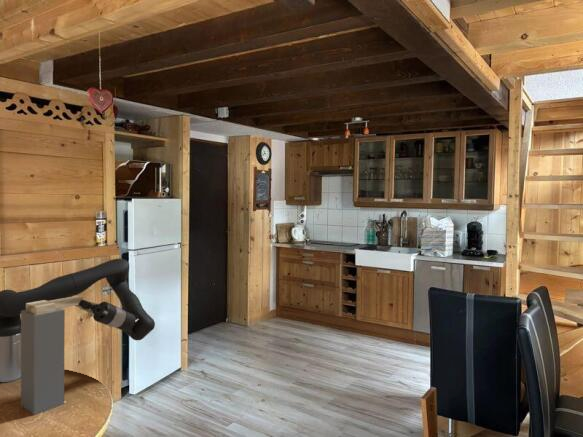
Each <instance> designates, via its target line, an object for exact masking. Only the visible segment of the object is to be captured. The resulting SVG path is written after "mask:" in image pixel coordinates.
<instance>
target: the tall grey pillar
mask: <svg viewBox="0 0 583 437" xmlns="http://www.w3.org/2000/svg"><path fill="white" fill-rule="evenodd" d="M65 315H66V314H65V309H64V308H60V309H55V311H53V312H48V313H43V314H38V315H35V314H33V313H30V312H27V311H26V310H23V311H21V314H20V317H21V378H20V407H21V408H24V409H25V410H26V411H28V412H30V413H31V414H32V415H34V416H35V415H38V414H41V413H43V412H47V411H49V410H51V409H54V408H57V407H59V406H62V405H64V404H65V331H66V330H65V325H66V324H65V323H66V322H65V321H66V319H65V318H66V317H65Z"/></svg>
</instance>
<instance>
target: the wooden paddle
mask: <svg viewBox="0 0 583 437" xmlns="http://www.w3.org/2000/svg"><path fill="white" fill-rule="evenodd" d="M80 300H84V297H83V296H81V295H75V296H72V297H68V298H62V299H56V300H51V301H46V300H42V301H36V302H31V303H26V311H27V312H30V313H33V314H35V315H38V314H43V313H48V312H53V311H55V309H64V308H70V307H76V306H75V305H79V302H80Z"/></svg>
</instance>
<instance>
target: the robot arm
mask: <svg viewBox="0 0 583 437" xmlns="http://www.w3.org/2000/svg"><path fill="white" fill-rule="evenodd" d="M129 272H130V264H129V261H127V260H126V259H124V258H113V259H110V260H108V261H105V262H102V263H99V264H98V265H95V266H94V265H93V266H92V267H88V268H85V269H82V270H80V271H76V272H70V273H67V274H64V275H60V276H58V277H55V278H53V279H50V280H49V281H47V282H45V283H43V284H42V285H40V286H37V287H35V288H30V289H27V290H21V291H15V290H13V289H3V290H0V383H9V382H13V381H16V380H18V379H21V311H23V310H26V303H31V302H36V301H42V300H46V301H51V300H56V299H62V298H68V297H74V296H79V295H81V294H82V293H83V292H85V291H86V290H88V289H89V288H90V287H92V286H93V285H95V284H96V283H97V282H98V281H101V280H103V279H105V280H106V282H107V283H108V285H109V287H111V289H112V291H113V292H114V294H115V296H117V298H118V299H119V302H120V304H121V306H122V308H121V307H119V306H117V305H114V304H112V303H109V302H107V301H101V302H100V303H96V302H93V301H88V300H87V299H83V300H80V302H79V305H75V306H74V307H77V308H79V309H80V310H82V311H85V312H87V313H88V314H91V315H92V317H93V318H92V319H93V320H94V321H95V322H98V323H100V324H102V325H105V326H108V327H112V328H115V329H118V330H121V331H122V332H124V334H126V335H128V337H130V338H131V339H132V340H134V341H141V340H143V339H145V337H146V336H148V335H149V334H150V333H152V331H153V330H154V329H155V327H156V326H155V325H156V323H155V320H154V319H153V317H152V316H151V315H150V314H148V313H147V311H146V310H145V309H144V308H143V305H142V303H141V300H140V299H139V297H138V296H137V295H136V294H135V293H134V292H133V291H132V290H131V289H130V287H129V283H128V277H129Z"/></svg>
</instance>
